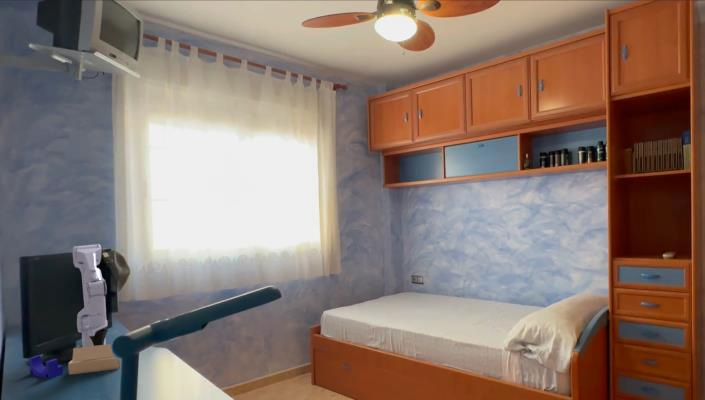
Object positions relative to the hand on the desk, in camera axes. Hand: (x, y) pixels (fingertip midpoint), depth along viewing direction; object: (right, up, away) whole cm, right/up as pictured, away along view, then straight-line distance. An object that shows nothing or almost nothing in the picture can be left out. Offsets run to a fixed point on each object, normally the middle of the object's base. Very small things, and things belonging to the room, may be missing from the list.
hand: (99, 349), depth 160 cm
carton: (0, -6, +1) cm, 6 cm away
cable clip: (-16, -7, -5) cm, 18 cm away
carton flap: (+1, +1, -4) cm, 4 cm away
